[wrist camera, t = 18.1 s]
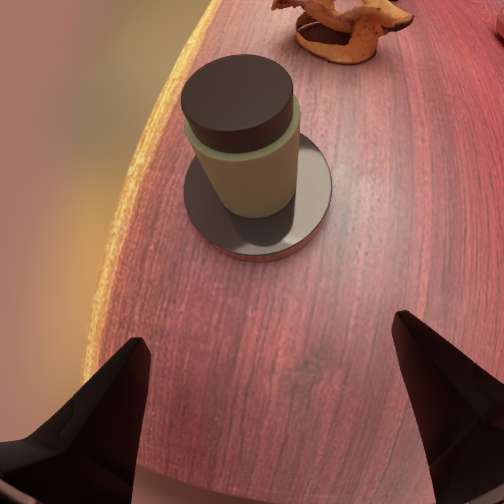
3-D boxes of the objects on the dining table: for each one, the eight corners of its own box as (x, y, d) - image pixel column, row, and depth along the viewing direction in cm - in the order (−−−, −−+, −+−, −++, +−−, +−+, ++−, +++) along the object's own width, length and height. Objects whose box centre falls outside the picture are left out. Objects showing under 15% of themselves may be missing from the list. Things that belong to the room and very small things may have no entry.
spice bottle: (312, 195, 17) (328, 104, 9) (237, 233, 17) (200, 162, 9) (271, 135, 18) (261, 37, 10) (203, 169, 18) (157, 81, 10)
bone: (272, 66, 22) (264, -13, 14) (277, 13, 24) (271, -49, 16) (406, 81, 21) (432, 12, 12) (386, 25, 23) (399, -33, 15)
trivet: (273, 292, 18) (272, 288, 16) (166, 211, 20) (155, 200, 18) (352, 181, 19) (358, 167, 17) (246, 119, 21) (243, 103, 19)
